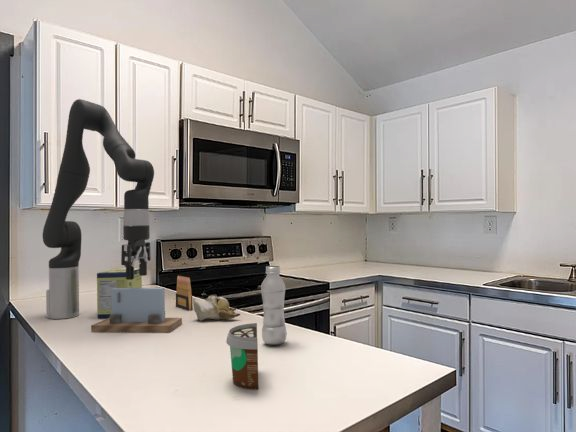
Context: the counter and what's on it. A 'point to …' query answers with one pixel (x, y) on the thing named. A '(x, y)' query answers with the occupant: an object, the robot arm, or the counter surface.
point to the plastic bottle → (273, 307)
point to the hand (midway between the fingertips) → (136, 277)
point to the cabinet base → (137, 325)
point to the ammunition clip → (184, 293)
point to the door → (138, 303)
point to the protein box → (111, 281)
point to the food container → (244, 355)
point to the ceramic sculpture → (213, 308)
